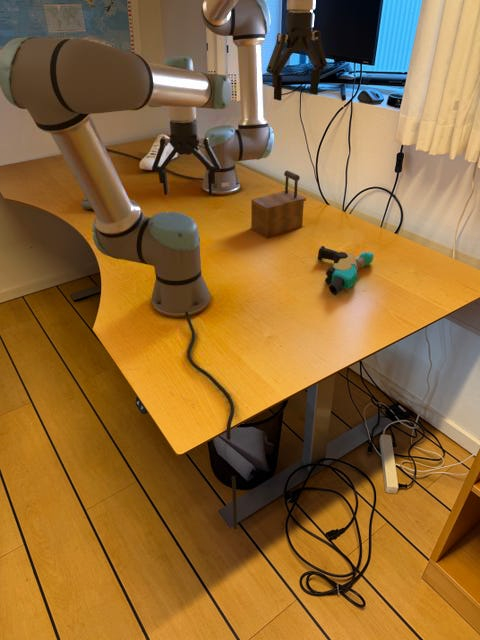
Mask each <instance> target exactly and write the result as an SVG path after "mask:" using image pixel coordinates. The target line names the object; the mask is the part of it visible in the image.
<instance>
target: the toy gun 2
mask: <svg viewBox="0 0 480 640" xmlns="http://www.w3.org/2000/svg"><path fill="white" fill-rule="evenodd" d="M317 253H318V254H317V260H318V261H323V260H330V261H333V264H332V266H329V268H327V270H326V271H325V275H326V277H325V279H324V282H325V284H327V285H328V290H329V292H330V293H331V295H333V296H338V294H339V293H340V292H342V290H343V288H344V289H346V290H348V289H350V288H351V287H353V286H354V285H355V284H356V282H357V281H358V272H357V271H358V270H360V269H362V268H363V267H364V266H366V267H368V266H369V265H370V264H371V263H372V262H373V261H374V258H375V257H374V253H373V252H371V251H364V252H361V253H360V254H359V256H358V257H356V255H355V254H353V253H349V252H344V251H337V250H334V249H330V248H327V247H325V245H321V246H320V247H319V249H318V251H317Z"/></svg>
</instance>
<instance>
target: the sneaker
mask: <svg viewBox="0 0 480 640" xmlns="http://www.w3.org/2000/svg"><path fill="white" fill-rule="evenodd" d="M163 136H164V137H165V138H171V134H164V133H161V134H158V135H157V137H156V139H155V140H154V142H153V143H152V146H151V148H150V150H149V151H148V153H147V154H146V155H145V156H144V157H143V158H141V159H142V160H140V162H139V169H141V170H144V171H153V170H152V166H153V164H154V161H155V158H156V156H157V153H158V150H159V148H160V139H161V138H162V137H163ZM173 149H174V148H173V147H172V146H171V144H170V143H168V145H167V146H165V148H164V151H163V154H162V156H161V159H160V162H159V164H158V166H161V165H162V164H163V162H164V161H165V160H166V158H167V157H168V156H169V154H170V153H171V152H172V150H173ZM178 156H179V154H178V153H176V154H175V155H174V157H173V158H172V159H171V161H172V160H175V159H176V158H177V157H178Z"/></svg>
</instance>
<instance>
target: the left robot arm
mask: <svg viewBox="0 0 480 640" xmlns="http://www.w3.org/2000/svg"><path fill="white" fill-rule="evenodd" d="M232 87H233V86H232V82H231V80H230V78H229V76H228V75H226V74H220V73H205V72H200V71H196V70H194V64H193V59H192V58H191V57H190V56H188V55H171V56H166V57H165V58H164V61H163V64H159V63H154V62H149V61H147V60H146V59H145V58H144V57H143V56H142V55H141V54H138V53H136V52H130V51H128V50H127V51H126V50H123V49H121V48H117V47H114V46H110V45H107V44H103V43H100V42H97V41H94V40H93V41H92V40H89V39H83V38H51V37H50V38H49V37H47V38H46V37H38V36H33V35H32V36H31V35H30V36H27V37H16V38H13V39H11V40H9V41H8V42H6V44H5V45H4V46H3V48H2V49H1V52H0V91H1V92H2V94H3V96H4V97H5V99H6V100H7V101H8V102H9V103H10V104H11V105H13V106H15V107H16V108H18V109H22V110H27V112H28V114H29V115H30V117H31V118H32V120H33V122H34V123H35V125H36V127H37V128H38V129H39V130H40V131H41V132H45V133H49V134H50V135H51V137H52V140H53V141H54V142H55V144H56V147H57V148H58V151H59V152H60V153H61V156H62V157H63V159H64V160H65V163H66V164H67V166H68V168H69V169H70V171H71V173H72V175H73V176H74V178H75V181H77V183H78V185H79V187H80V189H81V191H82V192H83V194H84V196H85V199H86V198H87V200H88V201H89V203H90V205H91V207H92V208H93V209H92V210H93V212H94V217H93V223H92V227H91V231H92V233H93V234H92V241H93V244H94V246H95V247H96V249H97V250H98V251H99V252H100V253H102V254H103V255H104V256H107V257H110V258H112V259H116V260H122V261H128V262H134V263H138V264H144V265H147V266H152V267H153V268H154V274H155V275H154V276H155V281H154V284H153V290H152V294H151V305H152V308H153V310H154V311H155V312H156V313H157V314H159V315H160V316H163V317H167V318H171V319H183V318H185V319H186V320H187V324H188V326H189V329H190V332H191V340H190V343H189V345H188V347H187V351H186V356H187V360H188V362H189V363H190V365H191V366H192V367H193V368H194V369H195V370H196V371H199V372H200V373H201V374H203V375H204V376H205V377H207V378H208V379H209V381H210V382H212V383H213V385H215V386H216V387H217V388H218V389H219V391H220V392H221V393H222V394H223V395H224V396H225V398H226V400H227V402H228V404H229V408H230V412H229V416H228V418H227V421H226V431H225V433H226V440H227V441H230V440H231V437H232V436H231V428H232V422H233V418H234V415H235V404H234V402H233V398H231V395H230V394H229V392H228V391H227V389H225V388H224V387H223V386H222V385H221V384H220V383H219V382H218V381H217V380H216V379H215V378H214V377H213V376H212V375H211V374H210V373H208V372H207V371H206V370H204V369H203V368H201V367H200V366H199V365H197V364H196V363H195V361H194V360H193V359H192V356H191V352H192V348H193V346H194V343H195V340H196V333H195V328H194V326H193V323H192V321H191V317H194V316H196V315H199V314H201V313H202V312H204V311H205V310H207V308H208V307H209V306H210V303H211V294H210V290H209V288H208V286H207V284H206V281H205V278H204V277H203V275H202V262H201V261H202V259H201V238H200V233H199V228H198V227H199V226H198V224H197V223H196V221H195V220H194V218H192V217H190V216H189V215H188V214H184V213H183V212H182V213H181V212H177V211H169V212H166V211H161V212H157V213H154V214H153V215H152V216H145V215H144V213H143V211H142V209H141V207H140V205H139V204H138V202H137V201H135V200H133V199H131V198H129V196H128V193H127V192H126V189H125V187H124V185H123V183H122V181H121V179H120V176H119V174H118V173H117V170H116V168H115V166H114V164H113V162H112V161H113V160H112V159H111V157H110V154H109V153H108V150H106V149H107V148H106V147H105V144H104V143H103V140H102V138H101V136H100V134H99V131H98V129H97V127H96V125H95V123H94V121H93V118H92V116H91V115H95V114H104V113H114V112H125V111H139V110H143V109H144V108H145V107H146V106H148V107H150V108H161V107H167V111H168V119H169V120H170V121H169V131H170V135H171V138H165V137H164V136H163V137H162V138H161V139H160V148H159V150H158V153H157V156H156V158H155V161H154V164H153V166H152V170H151V171H153V172H157V173H158V179H159V180H158V181H159V183H160V184H162V186H163V195H164V196H167V195H168V194H169V184H168V174H167V171H166V170H164V169H165V168H166V167H167V166H168V165H169V164H170V163H171V161H172V160H173V159H172V158H173V157H174V155H175V154H176V153H177V154H178V155H180V156H182V155H187V156H191V155H192V154H193V155H194V156H195V157H196V158H197V160H199V161H200V163H201V164H202V165H203V166H204V167H205V169H206V168H207V169H208V170H209V173H208V184H209V194H208V196H210V197H211V196H213V195H212V184H215V181H216V179H215V173H216V172H219V171H220V170H221V165H220V163H219V161H218V159H217V157H216V156H215V154H214V152H213V150H212V148H211V146H210V143H209V138H208V137H205V136H204V137H205V138H204V137H202V138H199V136H198V124H197V123H198V121H197V120H196V119H197V108H198V109H210V110H225V109H227V108H228V106H229V105H230V103H231V101H232V95H233V94H232V93H233V92H232V91H233V90H232V89H233V88H232ZM168 143H170V144H171V146H172V147H173V148H174V149H173V150H172V152H171V153H170V154H169V156H168V157H167V158H166V160H165V161H164V162H163V164H162V165H161V166H158V164H159V162H160V159H161V156H162V154H163V151H164V148H165V146H167V145H168ZM200 144H201V147H204V151H205V150H206V152H207V153H208V155H209V157H210V159H211V161H212V163H213V165H214V166H215V167H214V166H213V165H212V164H211V163H210V162H209V161H208V159H207V158H206V157H205V154H204V153H203V152H202V151H201V149H200V148H199V147H198V146H199V145H200ZM105 148H106V149H105ZM171 159H172V160H171ZM231 492H232V517H233V518H232V519H233V520H232V521H233V530H237V529H238V515H237V514H238V511H237V509H238V508H237V482H236V475H231Z"/></svg>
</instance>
